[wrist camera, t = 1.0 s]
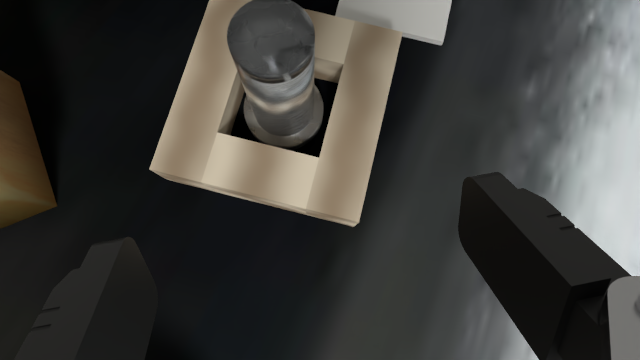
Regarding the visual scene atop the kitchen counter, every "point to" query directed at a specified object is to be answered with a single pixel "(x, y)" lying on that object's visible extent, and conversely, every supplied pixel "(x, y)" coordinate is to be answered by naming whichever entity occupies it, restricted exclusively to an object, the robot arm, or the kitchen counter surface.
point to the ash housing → (268, 161)
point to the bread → (20, 159)
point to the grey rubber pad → (401, 16)
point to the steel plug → (277, 71)
